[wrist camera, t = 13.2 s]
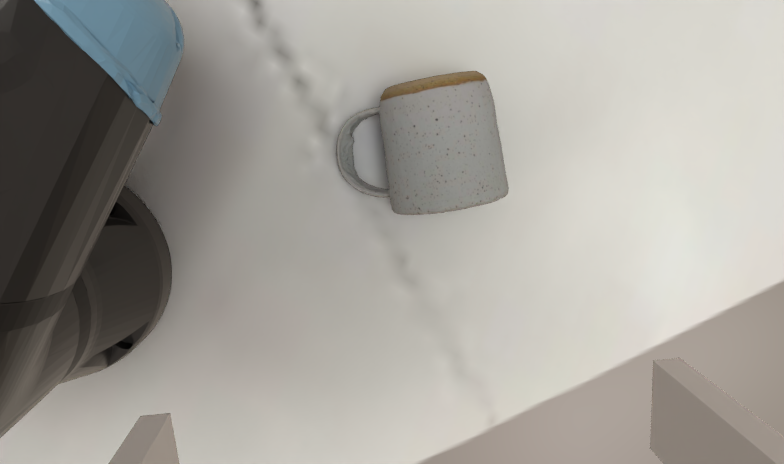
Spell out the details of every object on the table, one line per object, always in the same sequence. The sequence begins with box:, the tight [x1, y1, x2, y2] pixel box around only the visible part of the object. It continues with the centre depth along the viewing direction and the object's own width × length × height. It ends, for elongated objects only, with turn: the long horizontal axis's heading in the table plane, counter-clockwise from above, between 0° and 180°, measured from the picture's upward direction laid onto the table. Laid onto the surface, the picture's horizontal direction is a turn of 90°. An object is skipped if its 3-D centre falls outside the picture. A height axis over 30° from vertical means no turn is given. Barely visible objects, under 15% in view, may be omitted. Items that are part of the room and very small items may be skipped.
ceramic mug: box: [337, 71, 508, 215], centre depth 36 cm, size 11×8×8 cm
